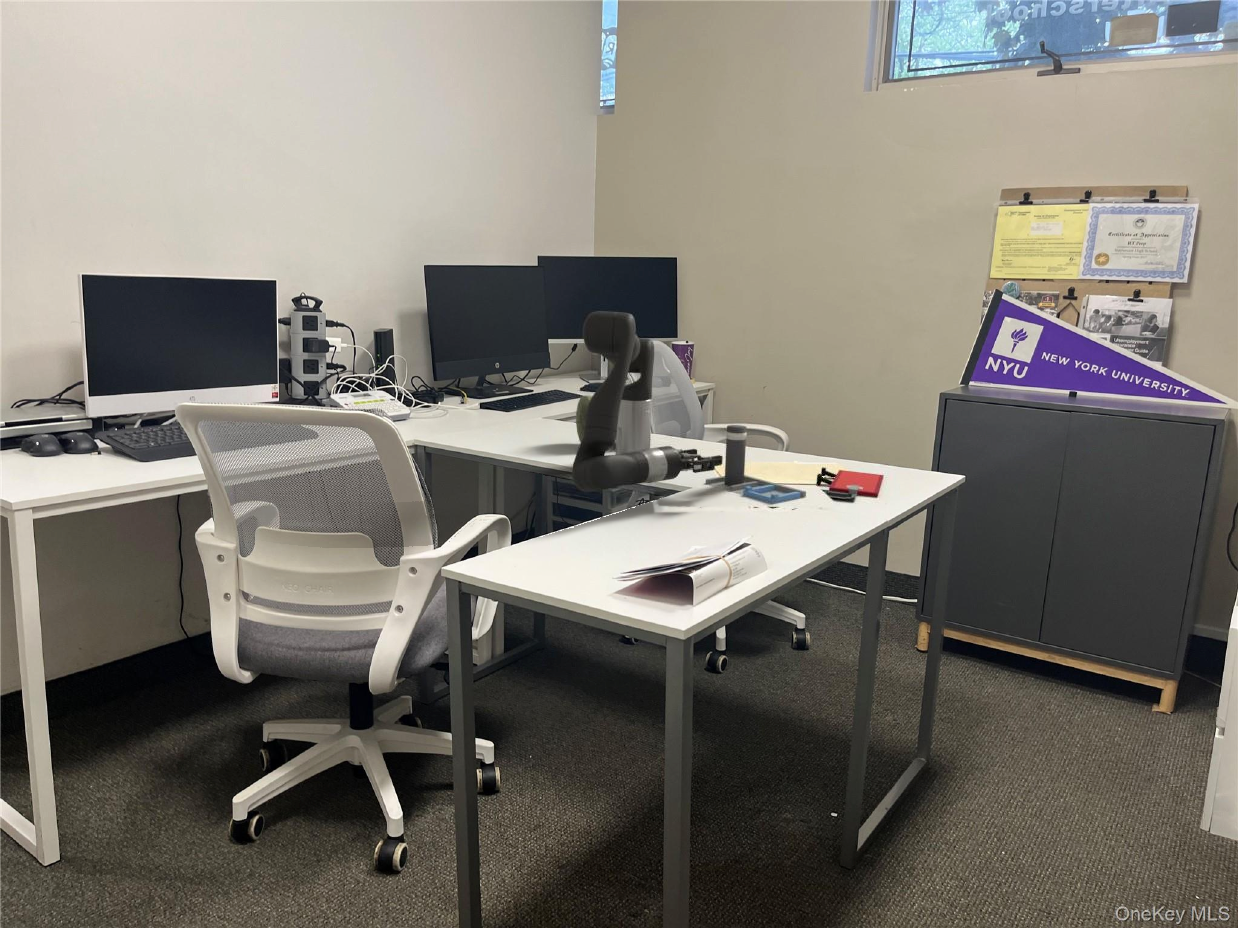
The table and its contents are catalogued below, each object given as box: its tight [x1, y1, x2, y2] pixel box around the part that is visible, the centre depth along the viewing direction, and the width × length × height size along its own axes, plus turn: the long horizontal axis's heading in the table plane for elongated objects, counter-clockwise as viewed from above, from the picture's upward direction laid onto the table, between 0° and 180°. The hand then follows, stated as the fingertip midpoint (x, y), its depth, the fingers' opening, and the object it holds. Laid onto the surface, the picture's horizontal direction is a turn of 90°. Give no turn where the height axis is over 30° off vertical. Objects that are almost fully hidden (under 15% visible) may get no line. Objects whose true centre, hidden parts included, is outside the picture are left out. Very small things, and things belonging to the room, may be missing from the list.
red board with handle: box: [816, 466, 884, 500], centre depth 219 cm, size 30×3×15 cm
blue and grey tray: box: [704, 474, 807, 510], centre depth 208 cm, size 22×11×3 cm, turn 38°
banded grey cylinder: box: [724, 424, 748, 486], centre depth 212 cm, size 5×5×14 cm
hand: (708, 456), depth 207 cm, fingers open, 8 cm apart
